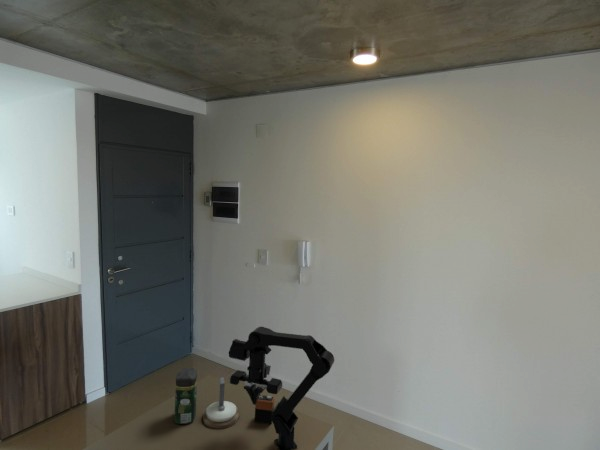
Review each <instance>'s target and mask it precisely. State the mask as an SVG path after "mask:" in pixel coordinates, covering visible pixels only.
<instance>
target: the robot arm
mask: <svg viewBox="0 0 600 450" xmlns="http://www.w3.org/2000/svg"><path fill="white" fill-rule="evenodd" d="M270 346H271V347H273V346H275V347H282V348H283V347H284V348H290V349H291V348H293V349H298V350H303V352H304V353H305V354H306V356H307V358H308V360H309V362H310V363H311V368H310V370H309V372H308V373H307V374H306V376H305V377H304V378H303V379H302V381H301V382H299V385H298V386H297V387H296V388H295V389H294V391H293V392H292V393H291V395H290V396H289V397H287V398H286V397H285V396H284V395H283V396H282V398H281V399H280V400H279V402H277V404H276V405H275V406H274V409H273V411H272V413H273V414H272V416H271V419H272V424H273V426H274V430H275V433H276V434H277V438H275V439H274V440H273V443H274V444H275V445H276V446H277V449H278V450H294V449H297V448H298V445H297V443H296V442H295V425H296V424H297V422H298V420H299V417H298V416H297V414H296V413H295V412H294V411H295V409H296V407H297V406H298V404H300V403H301V401H302V399H304V397H305V396H306V395H307V394H308V392H309V391H310V389H311V388H312V387H313V386H314V385H315V383H316V382H317V381H319V380H321V379H322V378H323V377H325V376H326V375H327V374H328V373H329V372H330V370H331V369H332V367H333V365H334V363H335V356H334V354H333V353H332V352H331V351H329V350H328V349H326V347H325V346H324V345H323V344H321V343H320V342H318V341H317V340H316V339H315V338H314V337H313V336H312V335H309V334H308V335H305V334H304V335H303V334H293V333H287V332H277V331H274V330H273V329H271V328H268V327H265V326H258V327H256V328H255V329H253V330H252V331H251V332H250V333H249V335H248V339H247V340H246V341H244V340H240V339H238V338H235V339H233V340H232V342H231V345H230V348H229V350H228V357H229V358H230V359H235V360H238V361H247V360H248V359H249V360H248V366H247V368H246V370H247V371H248V375H247V371H243V370H239V369H238V370H236V371H234V372H233V373H232V374H231V375H230V377H229V384H231V385H234V386H237V385H239V384H240V381H242V382H244V386H243V389H244V390H245V391H246V393H247V394H248V395H249V399H250V400H251V403H252V405H254V406H255V405H256V403H257V401H258V398H259V396H260V395H261V394H262V393H263V392H264V391H267V393H268V394H272V395H278V393H279V392H280V390H281V389H282V388H283V381H282V380H281V379H279V378H274V377H272V378H271V379H270V380H268V379H266V378H267V377H268V375H270V372H271V367H272V366H271V365H268V364H267V363H266V355H268V354H269V353H271V351H272V349H271V347H270Z"/></svg>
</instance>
